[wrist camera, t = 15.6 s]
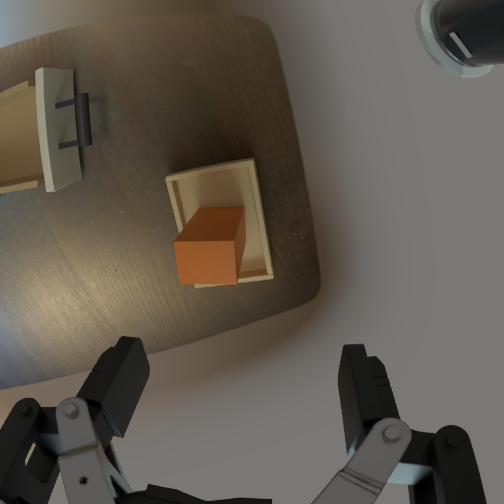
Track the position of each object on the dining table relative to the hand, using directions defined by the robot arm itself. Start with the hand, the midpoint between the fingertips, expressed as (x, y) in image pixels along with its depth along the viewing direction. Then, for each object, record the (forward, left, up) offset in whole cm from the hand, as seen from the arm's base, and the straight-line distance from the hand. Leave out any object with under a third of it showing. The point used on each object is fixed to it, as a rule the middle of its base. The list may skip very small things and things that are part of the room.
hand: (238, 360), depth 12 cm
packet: (+4, -3, -24) cm, 24 cm away
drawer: (0, -29, -23) cm, 37 cm away
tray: (+4, -3, -24) cm, 25 cm away
